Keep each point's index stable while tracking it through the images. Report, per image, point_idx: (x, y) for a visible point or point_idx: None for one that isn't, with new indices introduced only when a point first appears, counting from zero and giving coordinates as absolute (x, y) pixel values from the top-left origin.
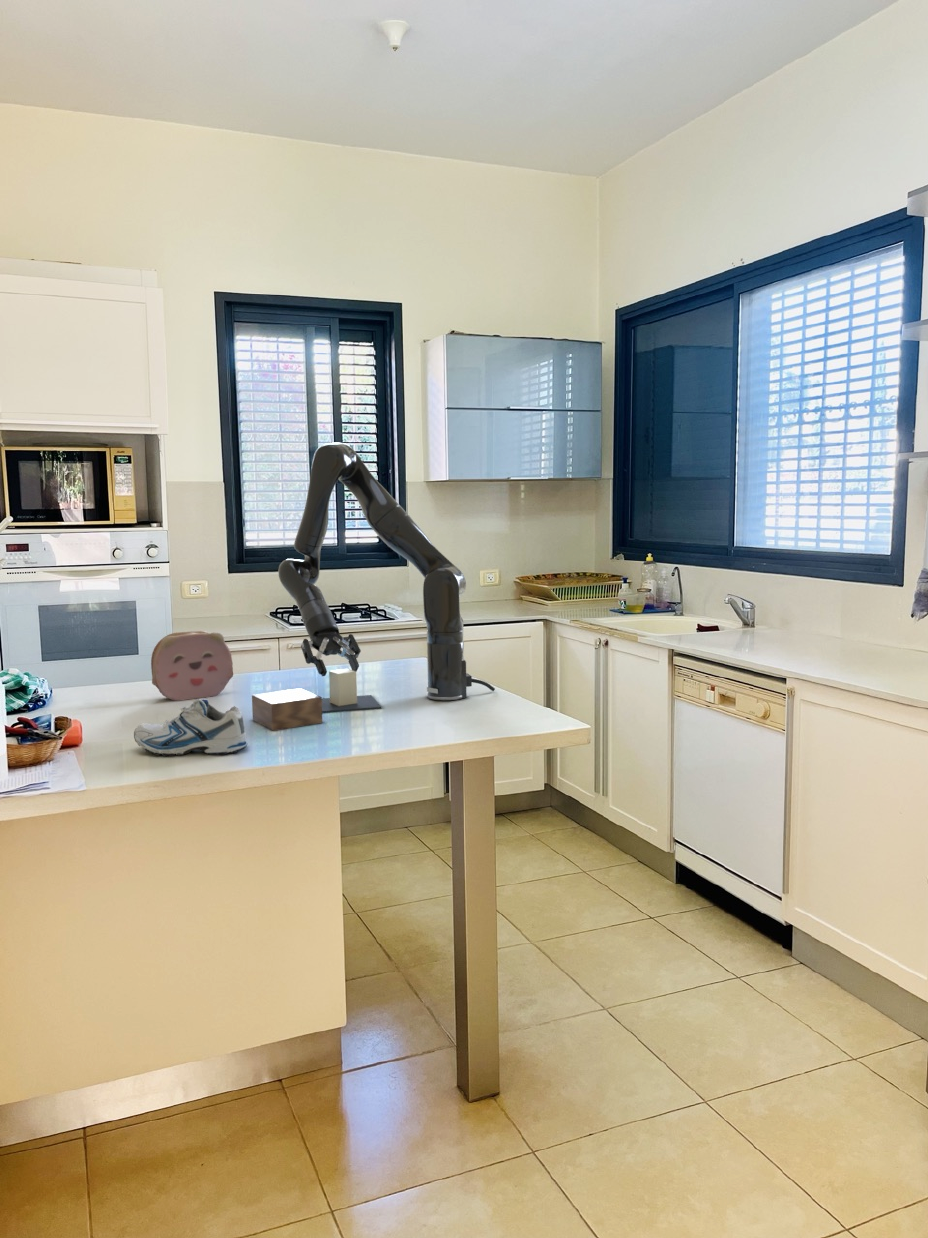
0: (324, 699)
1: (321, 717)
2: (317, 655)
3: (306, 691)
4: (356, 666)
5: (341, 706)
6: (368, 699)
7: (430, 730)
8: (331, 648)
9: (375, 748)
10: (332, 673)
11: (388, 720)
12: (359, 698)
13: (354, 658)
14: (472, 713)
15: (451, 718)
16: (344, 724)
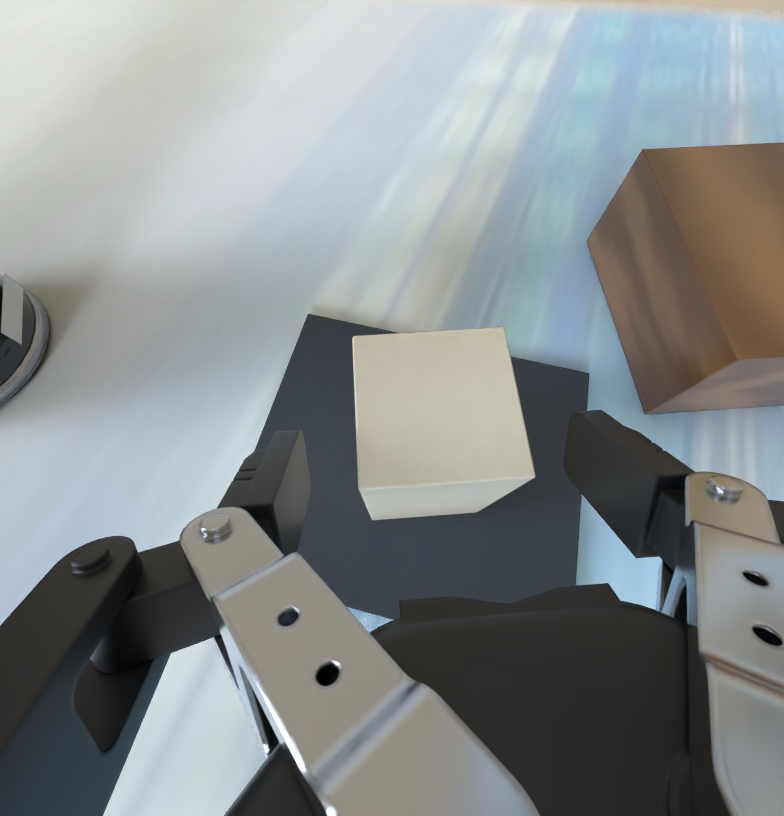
0: None
1: (599, 224)
2: (756, 508)
3: (704, 269)
4: (288, 432)
5: None
6: None
7: (328, 64)
8: (546, 618)
9: (515, 18)
10: (519, 412)
11: (373, 177)
12: (305, 518)
13: (250, 484)
14: (108, 135)
15: (201, 120)
16: (520, 198)
